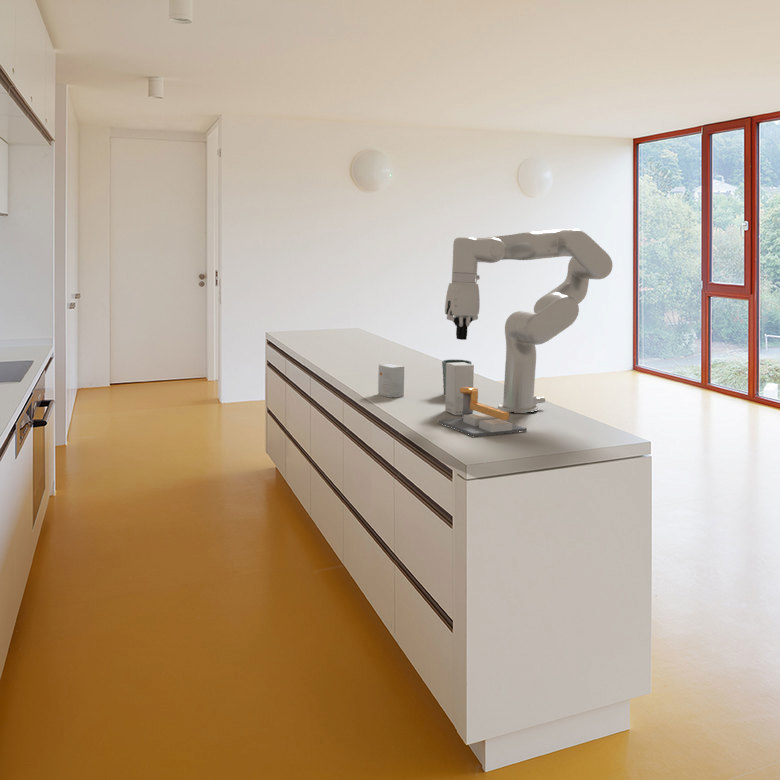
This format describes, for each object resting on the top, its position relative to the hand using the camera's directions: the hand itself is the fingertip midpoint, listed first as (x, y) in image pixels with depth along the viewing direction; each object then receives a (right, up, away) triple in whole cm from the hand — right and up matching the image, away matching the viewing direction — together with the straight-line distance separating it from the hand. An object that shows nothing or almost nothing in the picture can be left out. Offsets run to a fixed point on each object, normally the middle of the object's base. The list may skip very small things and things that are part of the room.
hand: (461, 339), depth 238 cm
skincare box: (-1, -23, +4) cm, 23 cm away
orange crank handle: (+5, -22, -17) cm, 28 cm away
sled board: (+4, -26, -16) cm, 31 cm away
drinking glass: (+1, -18, +34) cm, 38 cm away
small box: (-22, -18, +30) cm, 41 cm away
